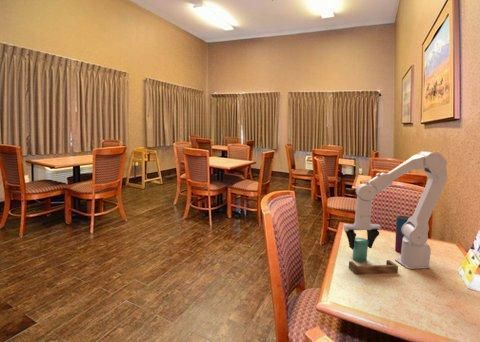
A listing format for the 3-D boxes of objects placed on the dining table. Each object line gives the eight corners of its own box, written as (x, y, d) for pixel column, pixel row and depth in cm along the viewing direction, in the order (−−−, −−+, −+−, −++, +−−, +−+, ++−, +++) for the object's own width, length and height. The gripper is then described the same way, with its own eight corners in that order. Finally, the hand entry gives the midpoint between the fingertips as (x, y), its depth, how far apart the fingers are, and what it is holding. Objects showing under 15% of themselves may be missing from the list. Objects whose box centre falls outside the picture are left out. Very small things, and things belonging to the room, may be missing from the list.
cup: (413, 255, 123) (417, 220, 121) (395, 253, 125) (399, 219, 123) (407, 248, 130) (411, 216, 128) (390, 247, 131) (394, 214, 129)
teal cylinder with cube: (358, 253, 124) (360, 235, 123) (369, 262, 116) (371, 242, 115) (346, 253, 123) (347, 235, 122) (356, 262, 115) (358, 243, 114)
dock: (388, 266, 113) (389, 260, 112) (397, 272, 108) (398, 266, 107) (348, 267, 110) (349, 261, 110) (355, 274, 106) (356, 267, 105)
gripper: (374, 211, 121) (371, 243, 123) (340, 211, 119) (338, 244, 121) (385, 216, 114) (381, 250, 116) (349, 217, 112) (347, 251, 114)
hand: (360, 247), depth 118 cm, fingers open, 7 cm apart
